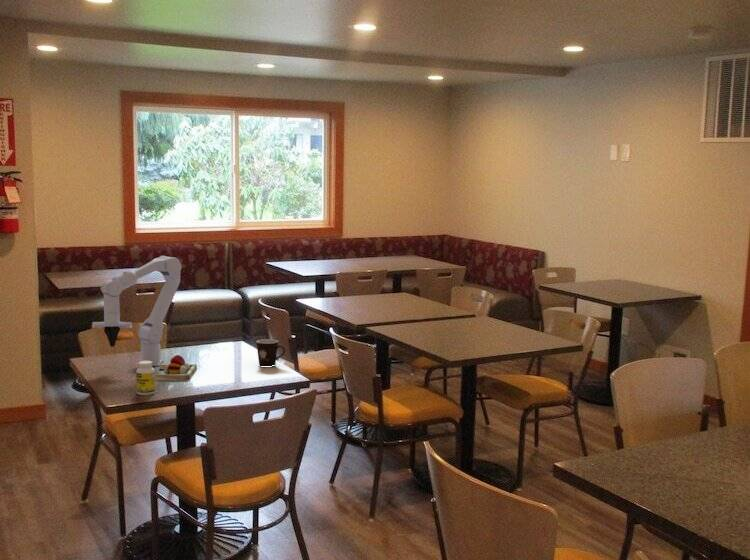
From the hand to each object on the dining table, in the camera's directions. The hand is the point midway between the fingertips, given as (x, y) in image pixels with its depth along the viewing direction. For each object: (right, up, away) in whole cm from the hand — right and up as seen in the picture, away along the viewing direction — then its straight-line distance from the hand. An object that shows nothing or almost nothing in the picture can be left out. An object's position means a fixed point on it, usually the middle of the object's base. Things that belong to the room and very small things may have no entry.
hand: (112, 346), depth 300 cm
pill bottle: (+22, -14, -30) cm, 40 cm away
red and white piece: (+26, -11, -3) cm, 28 cm away
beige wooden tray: (+24, -11, -4) cm, 27 cm away
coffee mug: (+59, -9, +12) cm, 61 cm away
